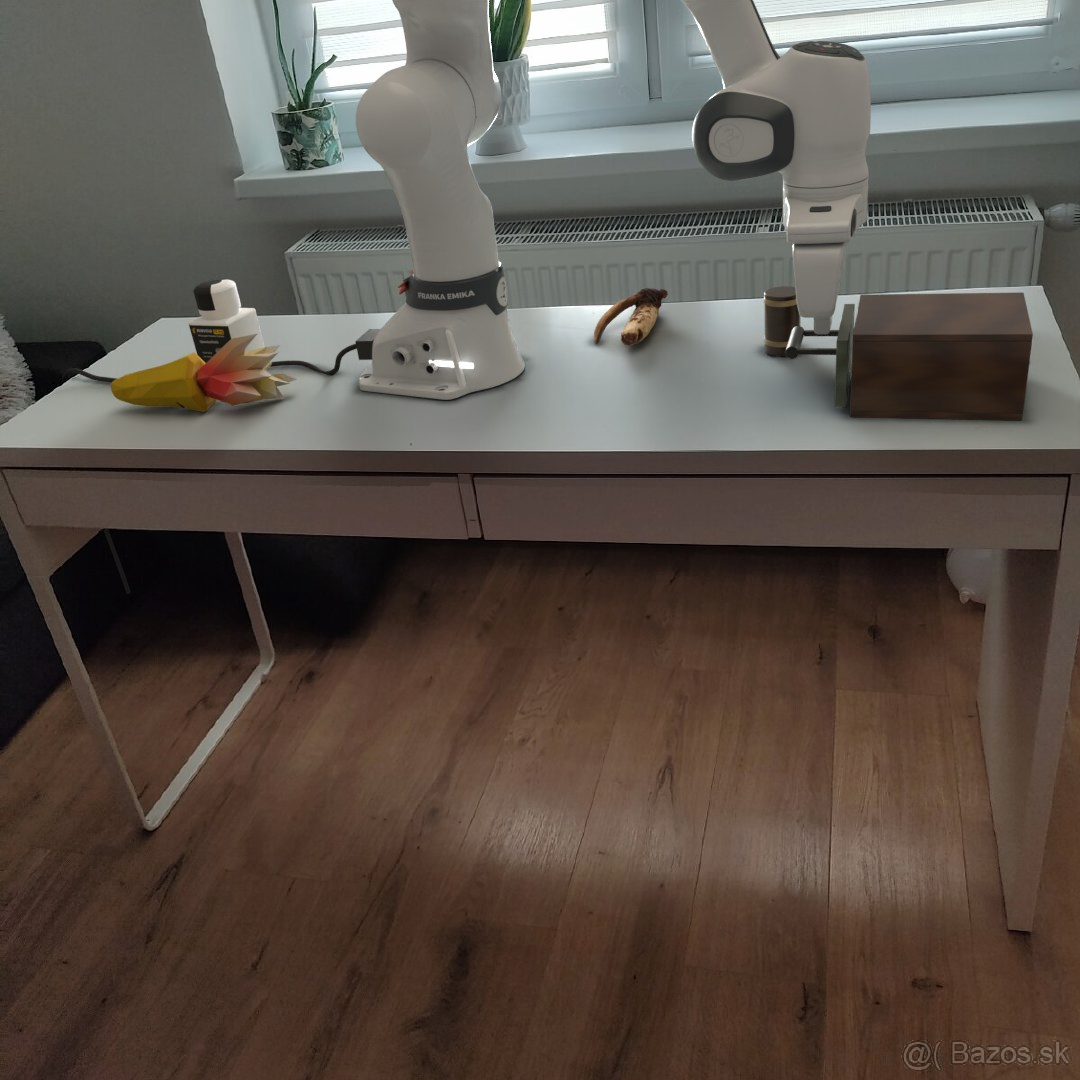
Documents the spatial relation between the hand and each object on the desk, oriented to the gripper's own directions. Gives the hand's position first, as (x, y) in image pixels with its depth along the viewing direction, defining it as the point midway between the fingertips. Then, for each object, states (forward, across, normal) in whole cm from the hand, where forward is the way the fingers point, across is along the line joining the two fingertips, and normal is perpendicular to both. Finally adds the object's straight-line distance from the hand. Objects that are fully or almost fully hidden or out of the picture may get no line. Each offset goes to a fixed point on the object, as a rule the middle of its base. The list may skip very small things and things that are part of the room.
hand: (822, 330), depth 121 cm
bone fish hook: (+8, -21, -28) cm, 36 cm away
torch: (+7, +7, -80) cm, 81 cm away
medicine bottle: (+7, -9, -86) cm, 87 cm away
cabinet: (+8, 0, +12) cm, 15 cm away
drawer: (+7, 0, +7) cm, 10 cm away
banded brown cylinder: (+8, -14, -6) cm, 17 cm away
